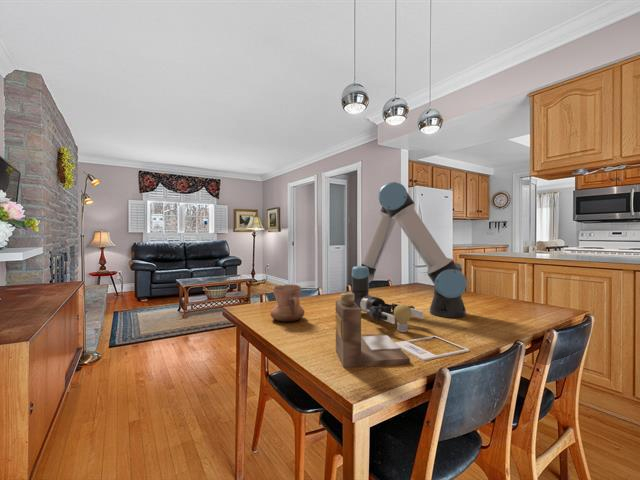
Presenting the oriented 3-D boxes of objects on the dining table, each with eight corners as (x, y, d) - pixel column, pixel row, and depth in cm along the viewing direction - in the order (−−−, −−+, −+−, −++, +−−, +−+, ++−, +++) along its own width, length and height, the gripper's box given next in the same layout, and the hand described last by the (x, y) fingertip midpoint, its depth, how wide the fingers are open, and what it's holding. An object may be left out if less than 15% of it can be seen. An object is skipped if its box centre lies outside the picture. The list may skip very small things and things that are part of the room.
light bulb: (415, 332, 116) (415, 305, 116) (403, 335, 112) (403, 307, 112) (401, 327, 121) (401, 302, 121) (390, 330, 118) (390, 304, 117)
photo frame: (392, 342, 103) (434, 335, 111) (392, 345, 103) (434, 338, 111) (423, 358, 90) (469, 348, 97) (423, 362, 90) (469, 352, 97)
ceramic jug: (264, 317, 138) (264, 285, 137) (294, 312, 145) (294, 282, 144) (280, 328, 122) (279, 292, 122) (312, 322, 129) (312, 288, 129)
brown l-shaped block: (384, 337, 110) (384, 283, 109) (409, 363, 88) (410, 296, 88) (330, 340, 107) (329, 285, 107) (342, 367, 86) (342, 298, 85)
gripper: (396, 311, 138) (433, 323, 120) (348, 318, 127) (381, 332, 108) (396, 294, 138) (433, 303, 119) (348, 299, 127) (381, 311, 108)
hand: (408, 317), depth 114 cm, fingers open, 13 cm apart
